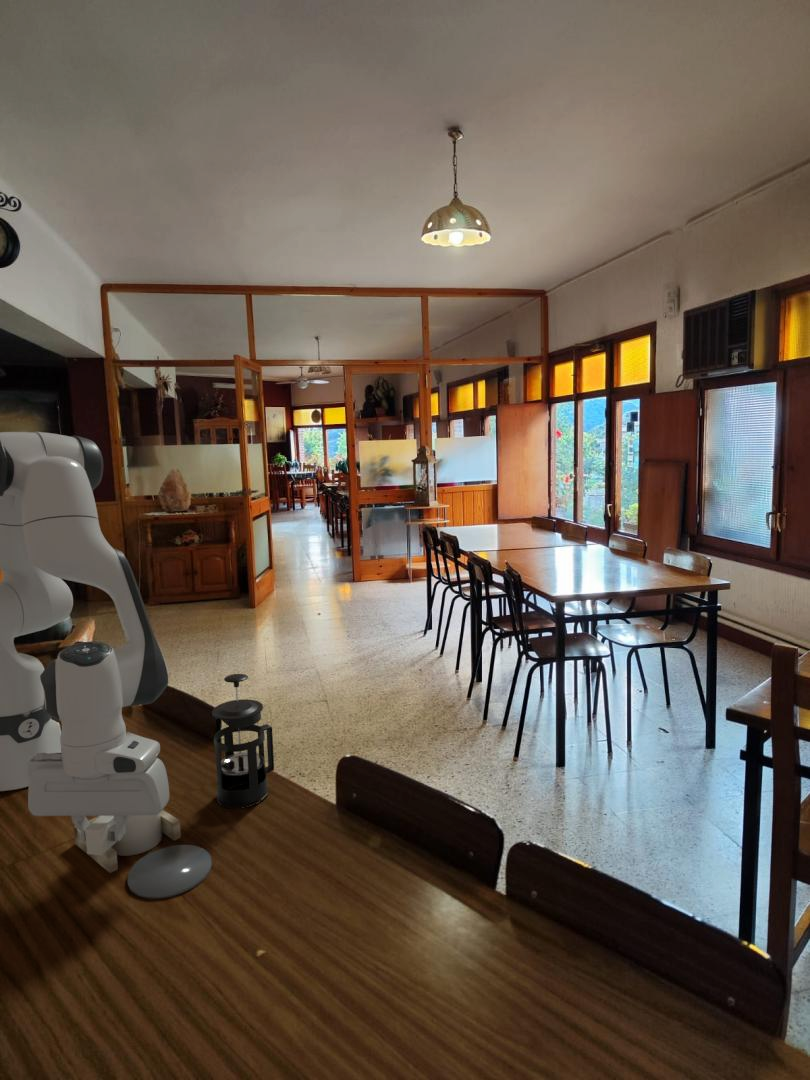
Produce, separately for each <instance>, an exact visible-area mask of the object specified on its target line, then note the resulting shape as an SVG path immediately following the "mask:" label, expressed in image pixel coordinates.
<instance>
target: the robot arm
mask: <svg viewBox="0 0 810 1080" xmlns="http://www.w3.org/2000/svg"><path fill="white" fill-rule="evenodd" d="M103 475H104V458H103V455H102V451H101V450H100V448H99V447H98V445H97V444H96V442H94V441H93V440H91V439H89V438H86V437H82V436H79V435H71V436H70V435H69V436H68V435H63V434H58V433H51V432H42V431H33V432H30V431H2V432H0V570H1V571H2V580H0V792H5V791H14V790H19V789H24V788H27V787H28V790H27V791H28V792H27V804H28V805H27V806H28V810H29V812H30V813H31V814H32V815H33V816H34V817H71V822H72V823H73V824H74V827H75V826H76V827H77V828H78V830H79V831H81V838H82V841H86V835H85V828H87V827H88V826H89V825H90V822H89V819H88V818H87V816H88V817H90V816H92V817H93V816H94V817H95V816H96V817H98V816H112V815H114V821H118V823H117V825H113V826H112V828H111V829H110V830H109V831H108V835H109V841H120V840H121V839H122V837H123V834H124V832H123V825H124V823H125V821H126V819H127V818H128V816H129V815H158V814H159V813H160V812H161V811H162V810H164V808H165V807H166V805H167V804H168V802H169V800H170V785H169V778H168V774H167V769H166V766H165V764H164V763H163V761H162V760H161V759H160V758H159V757H158V756H159V754H160V752H161V745H160V742H158V741H157V740H154V739H151V738H148V737H145V736H144V737H143V736H141V735H138V734H135V733H132V732H129V731H127V728H126V722H125V721H124V718H123V714H122V710H123V708H124V707H134V706H143V705H149V704H153V703H154V702H156V700H157V699H158V698H159V697H160V696H161V695H162V694H163V693H164V692H165V690H166V688H167V687H168V685H169V668H168V665H167V662H166V659H165V656H164V655H163V653H162V651H161V648H160V645H159V644H158V641H157V638H156V636H155V632H154V631H153V628H152V625H151V622H150V619H149V615H148V613H147V610H146V606H145V604H144V601H143V598H142V594H141V592H140V588H139V586H138V583H137V581H136V577H135V575H134V572H133V571H132V567H131V565H130V563H129V560H128V558H127V557H126V555H125V553H124V552H123V551H121V550H119V549H117V548H114V547H113V546H111V544H110V543H109V541H107V539H106V538H105V536H104V535H103V532H102V530H101V526H100V521H99V514H98V508H97V505H96V500H95V496H94V490H95V489H96V488H97V487H98V486H99V484H101V482H102V478H103ZM64 580H66V581H71V582H74V583H80V584H85V585H89V586H92V587H94V588H98V589H100V590H102V591H103V592H105V593H106V594H108V595H109V597H110V598H111V600H112V601H113V604H114V607H115V609H116V613H117V615H118V617H119V621H120V624H121V627H122V629H123V633H124V636H125V640H126V643H125V644H124V645H122V646H119V647H114V648H113V647H112V646H111V645H109V644H107V643H105V642H102V641H83V642H81V641H80V642H77V643H74V644H70V645H68V646H66V647H65V648H63V649H62V650H60V652H58V655H57V658H55V659H53V660H52V661H51V662H50V663H49V664H48V665H47V666H46V668H45V667H44V665H43V663H42V662H41V661H40V660H39V659H38V658H37V657H35V656H33V655H30V654H27V653H22V652H18V651H17V649H16V647H15V642H14V640H15V638H18V637H20V636H25V635H29V634H32V633H36V632H40V631H45V630H47V629H50V628H51V627H54V626H56V625H57V624H59V623H61V622H64V621H65V620H66V619H68V618H69V617H70V614H71V613H72V610H73V606H74V596H73V593H72V590H71V589H70V587H69V586H68V584H67V583H66V582H65V581H64ZM52 718H54V719H56V720H57V721H60V723H61V725H60V723H59V722H57V721H56V720H54V719H52Z"/></svg>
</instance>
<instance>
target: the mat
mask: <svg viewBox="0 0 810 1080" xmlns="http://www.w3.org/2000/svg"><path fill="white" fill-rule="evenodd" d="M212 863H213V862H212V856H211V855H210V853H209V852H208V851H207V850H206V849H204V848H202V847H200V846H198V845H193V844H178V845H177V844H176V845H169V846H165V847H162V848H159V849H156V850H154V851H152V852H149V853H148V854H145V855H144V856H143V857H142V858H140V859H139V860H138V861H136V862H135V863H134V864H133V865H132V867H131V868H130V870H129V871H128V875H127V886H128V889H129V890H130V892H132V893H133V894H134V895H136V896H137V897H141V898H145V899H152V900H153V899H154V900H155V899H166V898H167V899H168V898H171V897H175V896H178V895H181V894H184V893H186V892H188V891H190V890H193V889H194V888H195V887H197V886H198V885H199V884H201V883H202V882H203V881H204V880H206V878H207V877H208V876H209V874H210V872H211V869H212V866H213V865H212Z"/></svg>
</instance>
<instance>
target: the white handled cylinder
mask: <svg viewBox="0 0 810 1080" xmlns="http://www.w3.org/2000/svg"><path fill="white" fill-rule="evenodd" d="M117 823H118V821H114V815H112V816H100V817H99V818H97V819H96V820H95V821H94V822H93V823H91V824H90V825H89V826H88V827H87V828H85V835H86V846H87V853H86V854H87V855H88V854H92V855H101V856H102V855H103V854H104V853H105V852H106V851H107V850H108V849H109V848H110V847H112V848H113V849H114V850H115V851H116V852H117V856H122V857H124V856H125V857H127V856H129V857H130V856H136V855H140V854H143V853H145V852H149V851H151V850H152V849H153V848H155V847H156V846H157V845H159V844H160V842H161V841H162V839H163V833H162V826H161V813H159V814H158V815H129V816H128V818H127V819H126V821H125V823H124V825H123V832H124V834H123V837H122V839H121V840H120V841H109V835H108V831H109V830H110V829H111V828H112V826H113V825H117Z"/></svg>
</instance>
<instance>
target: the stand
mask: <svg viewBox="0 0 810 1080" xmlns="http://www.w3.org/2000/svg"><path fill="white" fill-rule="evenodd" d="M160 813H161V826H162V834H163V835H165V836H167V837H169V838H170V839H171V840H173V841H177V840H178V839H181V838H182V834H181V833H182V832H181V821H180V819H178V818H176V816H173V815H172V814H171V813H169V812H167V811H165V810H164V809H163V810H162V811H161V812H160ZM99 817H100V816H96V817H93V818H91V819H88V821H89V822H90V824H91V823H93V822H94V821H95V820H96V819H97V818H99ZM73 832H74V843H75V845H76V846H77V847H78V848H79V849H80V850H82V851H83V852H84V853H85V854H87V846H86V841H82V838H81V831H79V830H78V828H77V827H76V826H75V825H74V826H73ZM87 855H88V856H89V857H91V859H93V860H94V861H95V862H96V863H97V864H98V865H100V866H101V867H102V868H103V869H105V871H107V872H108V873H109V874H112V873H113V872H115V871H118V870H119V866H118V855H117V852H116V851H115V850H114V849H113V848H112V847H110V848H109V849H108V850H107V851H106V852H105V853H104V854H103V855H102V856H101V855H92V854H87Z"/></svg>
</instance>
